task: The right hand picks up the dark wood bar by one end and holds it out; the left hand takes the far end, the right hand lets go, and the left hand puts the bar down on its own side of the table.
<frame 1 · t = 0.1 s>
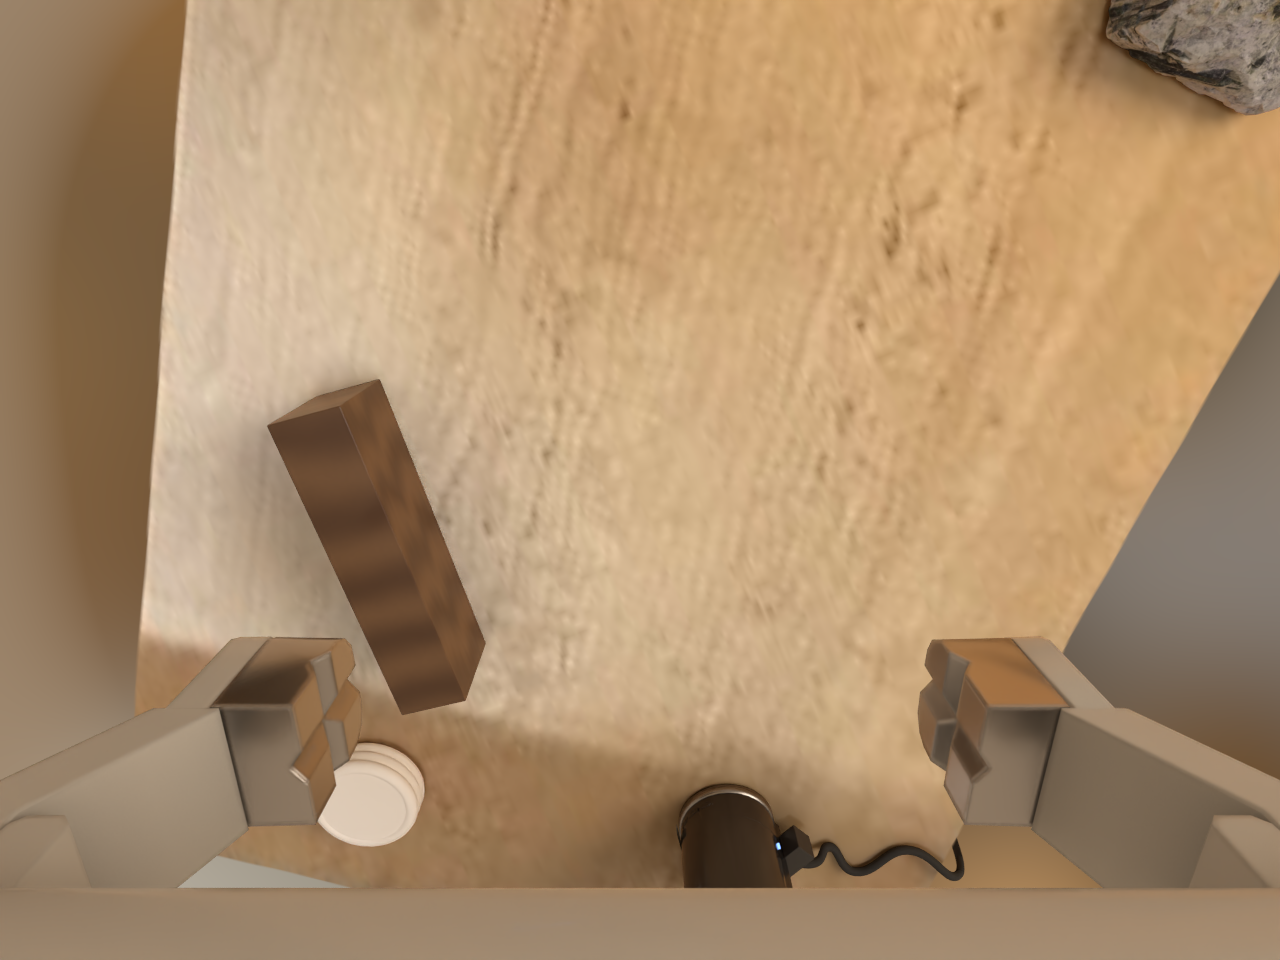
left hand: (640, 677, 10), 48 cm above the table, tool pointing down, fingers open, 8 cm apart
coaster: (375, 779, 71), on the table
rock: (1210, 6, 49), on the table
bar: (406, 528, 62), on the table
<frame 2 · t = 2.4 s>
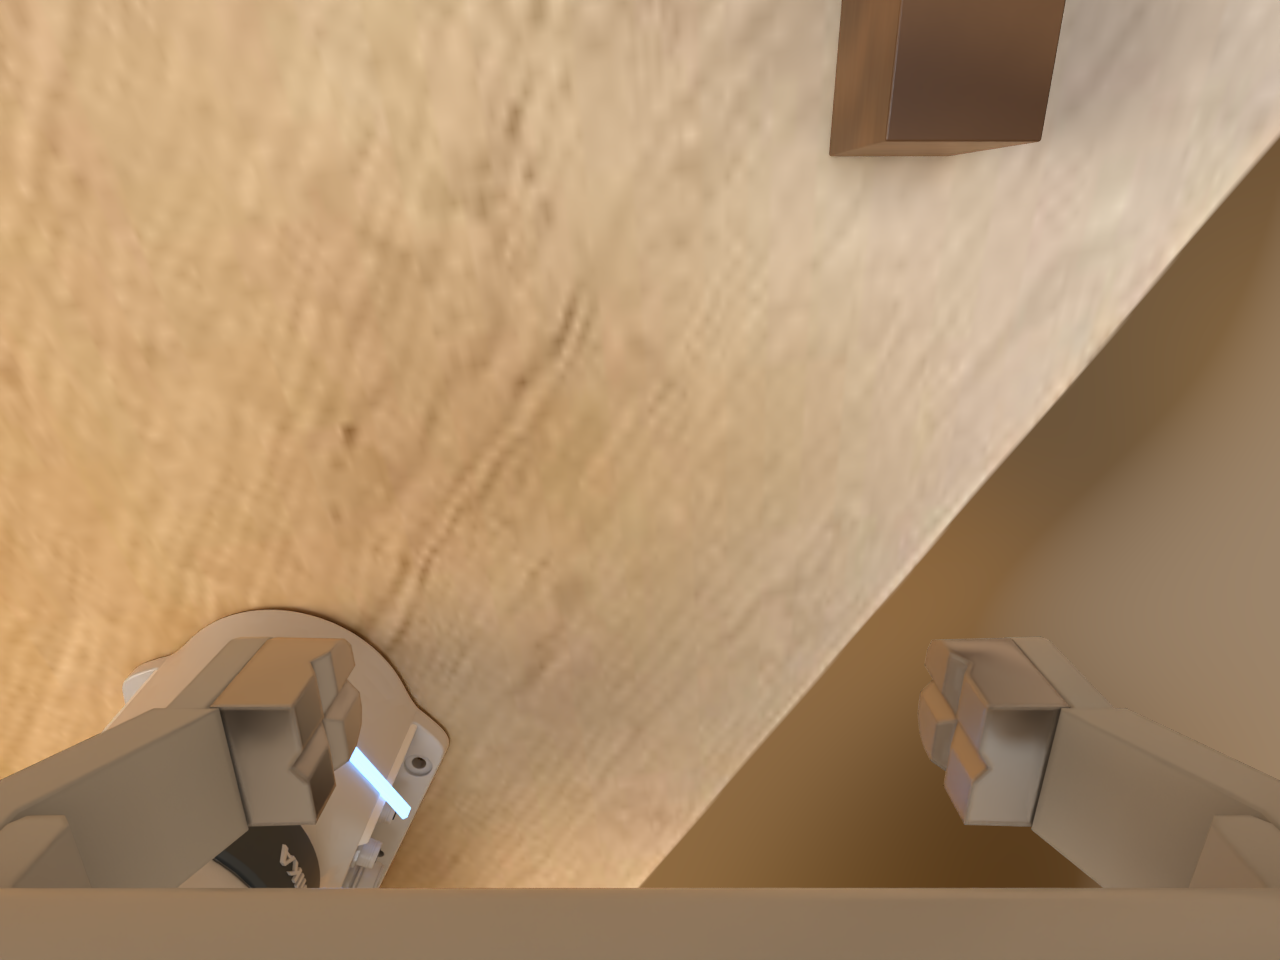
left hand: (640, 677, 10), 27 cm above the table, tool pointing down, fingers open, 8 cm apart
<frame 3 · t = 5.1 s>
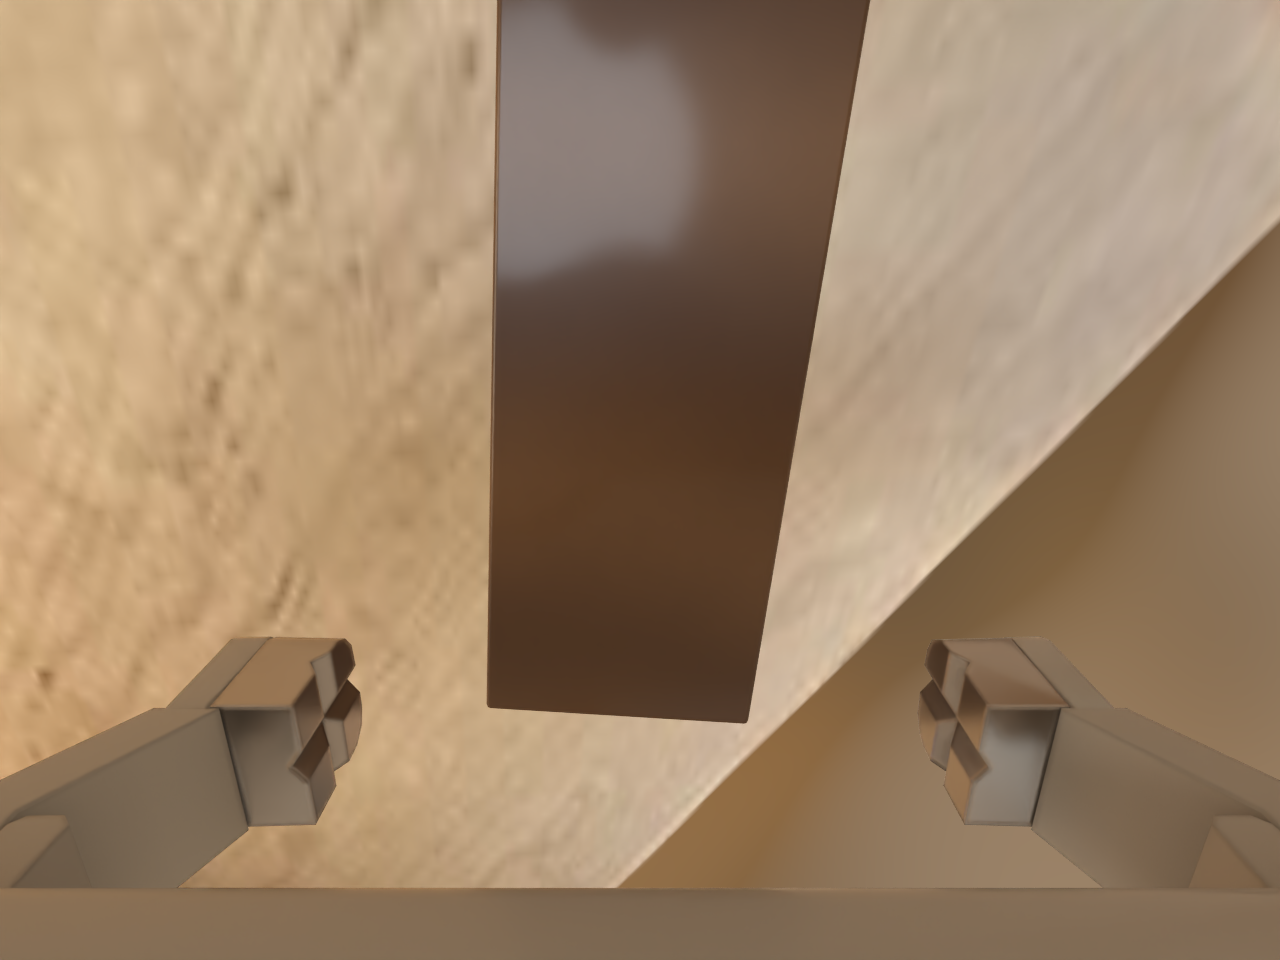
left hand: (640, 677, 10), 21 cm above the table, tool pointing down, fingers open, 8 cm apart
bar: (660, 94, 18), point 9 cm above the table, touching right hand
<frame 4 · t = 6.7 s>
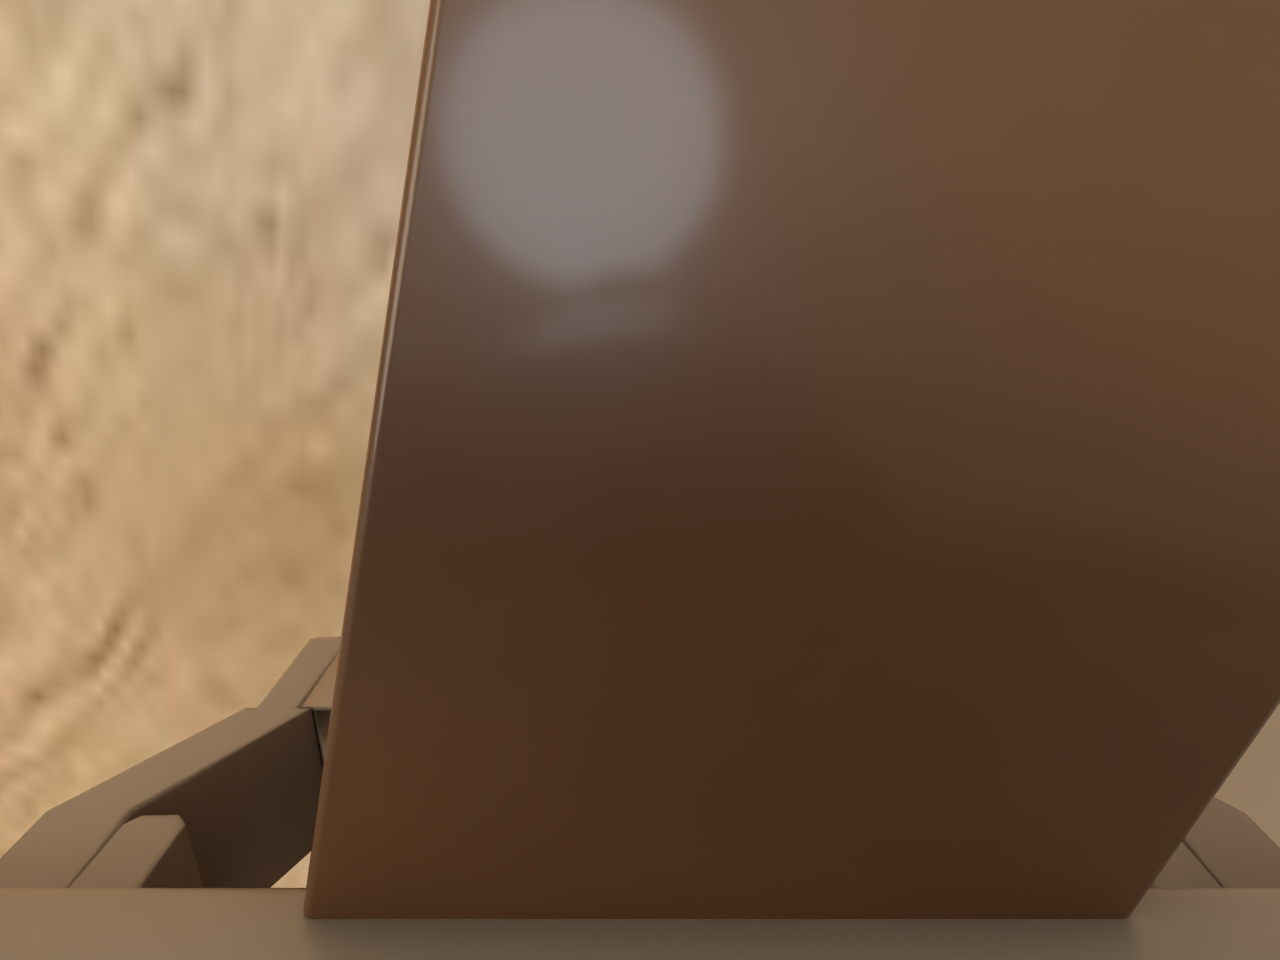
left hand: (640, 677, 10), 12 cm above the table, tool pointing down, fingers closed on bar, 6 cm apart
bar: (811, 14, 10), point 9 cm above the table, touching left hand, right hand
when the right hand's fingers open (12 cm above the table, at t = 7.8 s): bar stays where it is, held by the left hand.
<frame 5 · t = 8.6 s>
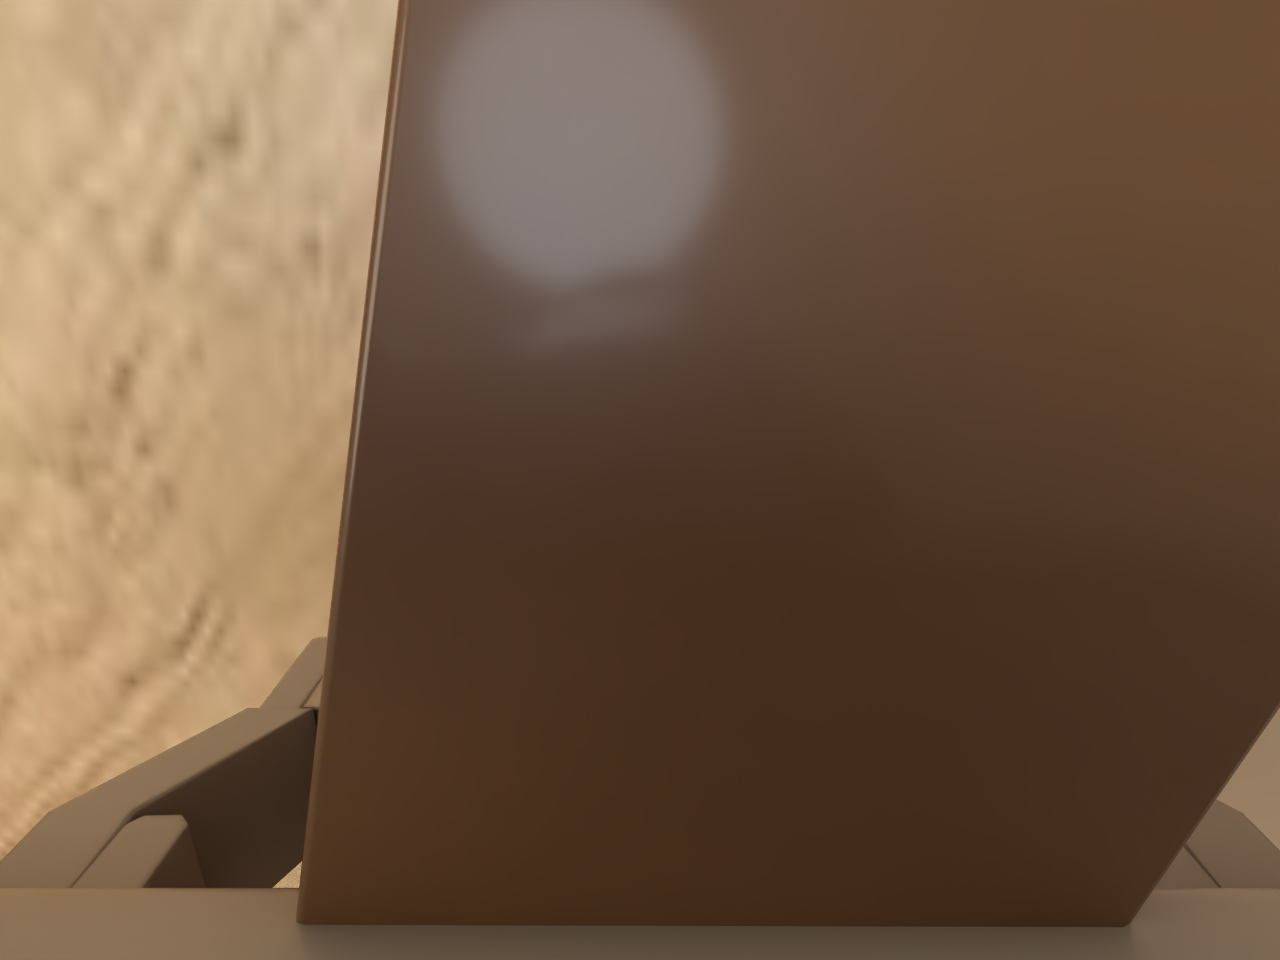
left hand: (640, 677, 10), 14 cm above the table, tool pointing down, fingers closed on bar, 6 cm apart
bar: (804, 7, 10), point 12 cm above the table, touching left hand
when the left hand's fingers open (4 cm above the table, at t = 13.5 s): bar stays where it is, point 1 cm above the table.
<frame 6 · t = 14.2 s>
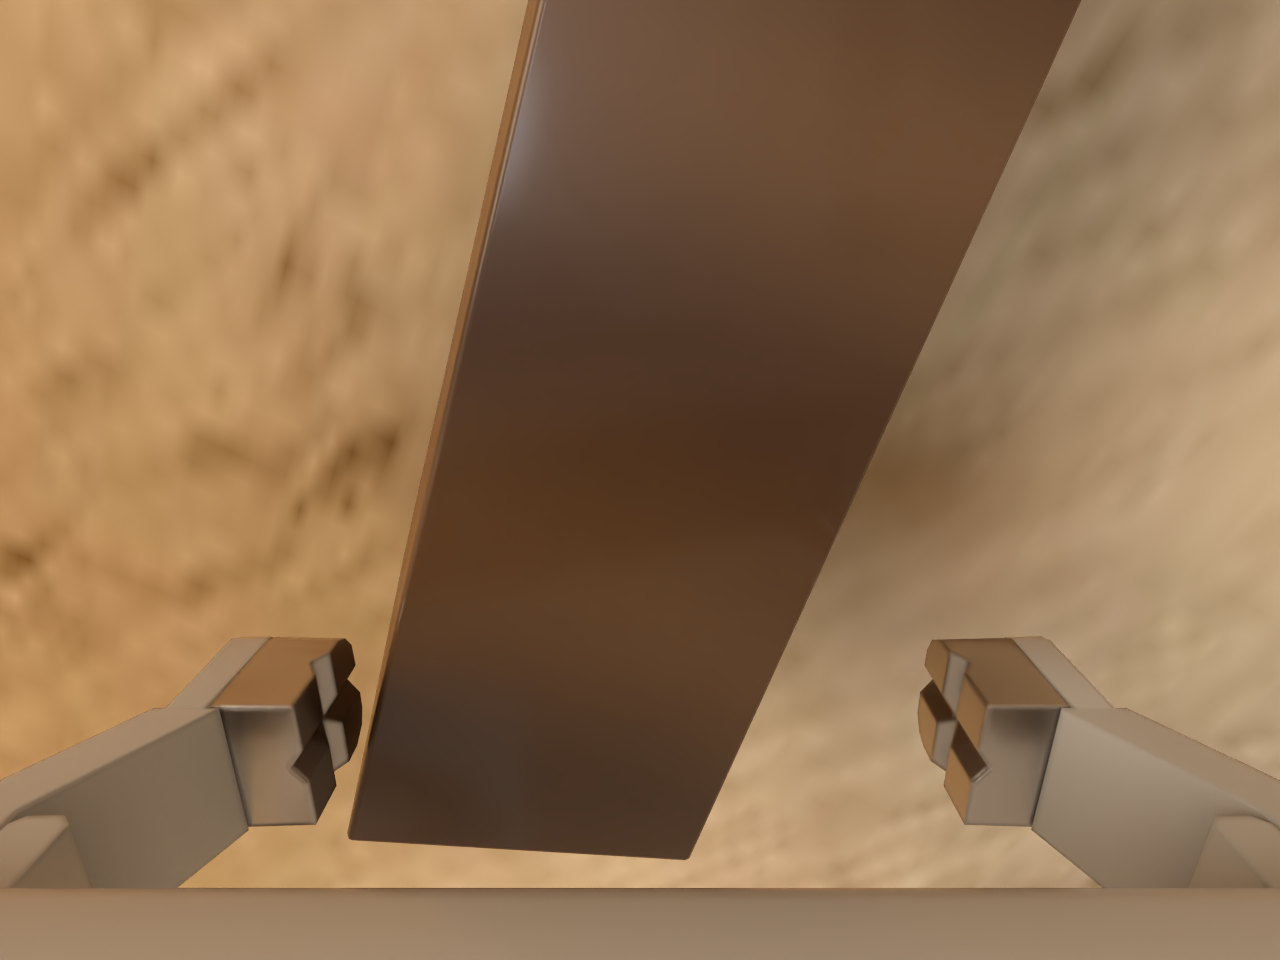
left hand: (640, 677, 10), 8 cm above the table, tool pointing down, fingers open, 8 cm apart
bar: (667, 38, 14), point 1 cm above the table, tilted 11°
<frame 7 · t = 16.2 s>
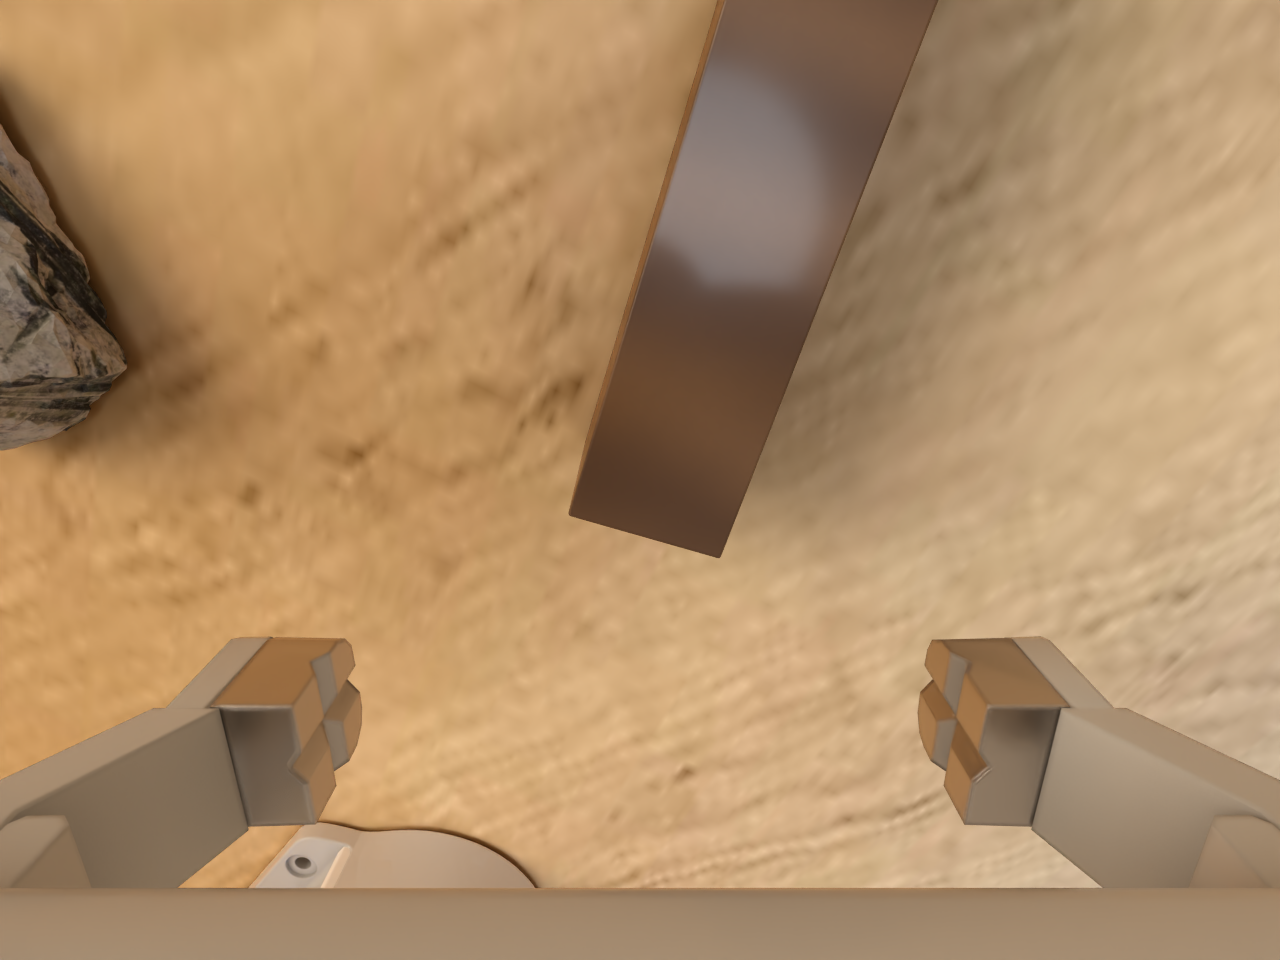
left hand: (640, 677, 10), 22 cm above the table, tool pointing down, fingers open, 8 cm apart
bar: (741, 167, 28), on the table
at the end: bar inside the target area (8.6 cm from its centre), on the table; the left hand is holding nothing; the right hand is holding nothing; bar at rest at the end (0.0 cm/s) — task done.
